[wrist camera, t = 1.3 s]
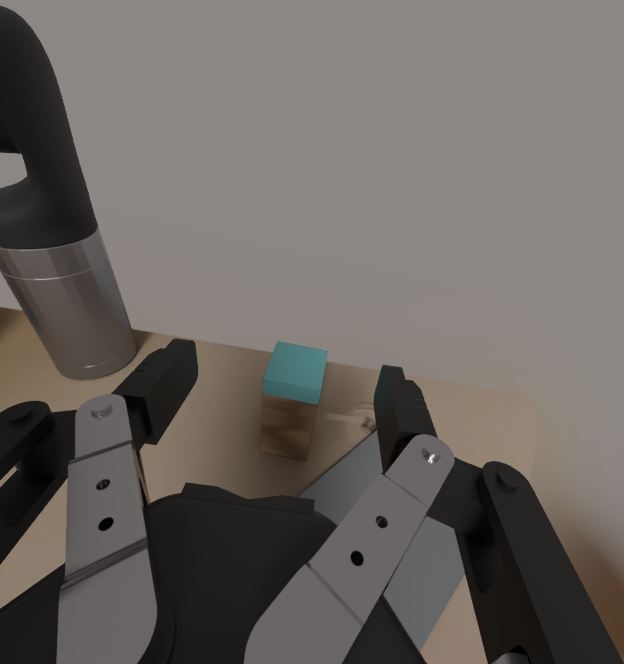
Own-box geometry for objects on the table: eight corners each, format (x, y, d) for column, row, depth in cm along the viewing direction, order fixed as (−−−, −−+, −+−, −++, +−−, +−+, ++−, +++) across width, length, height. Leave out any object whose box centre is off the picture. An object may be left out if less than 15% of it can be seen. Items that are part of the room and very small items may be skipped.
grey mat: (267, 524, 28) (267, 522, 28) (376, 431, 37) (377, 429, 37) (386, 705, 21) (388, 705, 20) (485, 534, 30) (488, 532, 29)
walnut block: (260, 451, 33) (263, 378, 26) (272, 414, 37) (277, 341, 30) (305, 461, 33) (321, 390, 26) (312, 422, 37) (327, 351, 29)
